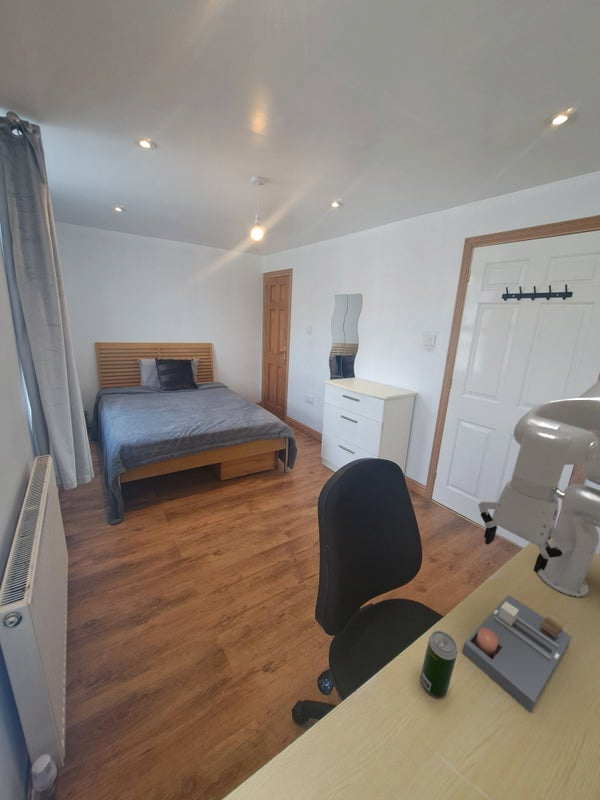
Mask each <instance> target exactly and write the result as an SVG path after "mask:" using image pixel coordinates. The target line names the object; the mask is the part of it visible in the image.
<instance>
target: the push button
mask: <svg viewBox="0 0 600 800" xmlns="http://www.w3.org/2000/svg"><path fill="white" fill-rule="evenodd" d="M498 641H499V640H498V637H497V635H496V634H495V633H494V632H493V631H491V630H490V629H488V628H480V629H479V632H478V635H477V639H476V641H475V646H477V647H478V648H479V649H480V650H481V651H483V652H484V653H485V654H486V655H487V656H489V657H493V656H494V655H496V654H495V651H496V648H497V645H498Z"/></svg>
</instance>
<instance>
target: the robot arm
mask: <svg viewBox="0 0 600 800" xmlns="http://www.w3.org/2000/svg"><path fill="white" fill-rule="evenodd" d="M591 430H592V432H591ZM594 430H595V433H594V432H593V431H594ZM513 438H514V440H515V442H517V443H518V445H520V447H519V451H518V452H517V453H518V455H517V458H516V461H515V465H514V469H513V473H512V476H511V479H510V480H509V481H508V482H506V484H505V486H504V488H503V489H502V491H501V494H500V495H499V498H498V500H497V502H494V501H480V502H479V503H478V508H479V511H480V517H481V519H482V520H483V522H484V526H485V527H486V528H485V532H484V535H483V537H484V538H485V541H484V544H485V545H487V546H488V545H490V544H491V543H492V542H493V541H494V540H495V538H496V533H497V530H498V527H500V528H502V529H504V530H506V531H508V532H509V533H511V534H513V535H515V536H517V537H519V538H521V539H523V540H525V541H527V542H529V543H531V544H533V545H535V546H537V550H538V551H539V552H540V553H539V554H538V556H537V558H536V560H535V564H534V567H533V571H534V573H536V574H537V575H538V576H539V578H540V577H541V578H540V579H541V580H542V582H544V583H545V582H546V583H545V584H546V585H548V586H549V587H551V588H553V590H556V591H558V592H560V593H562V594H565V595H567V596H570V595H571V597H574V596H576V597H577V598H582V597H581V596H583V597H586V596H587V595H588V593H589V589H590V588H589V585H588V583H587V582H586V581H585V580H586V577H587V574H588V571H589V570H590V566H591V563H592V561H593V559H594V555H595V553H596V551H597V548H598V546H599V542H600V535H599V532H598V529H597V527H598V528H600V489H598V488H594V487H593V486H592V487H591V486H589V485H584V484H581V483H572V484H570V485H568V486H567V487H565V489H564V490H563V491H562V490H561V489H560V488H559V486H560V485H559V484H560V480H561V477H562V474H563V470H564V468H565V465H566V466H569V465H571V466H575V465H577V466H579V465H582V467H581V470H580V471H581V472H580V473H581V475H582V477H583V478H584V479H585V480H587V481H589V482H591V483H592V484H596V485H599V486H600V379H599V380H598V381H597V382H595V383H594V384H593V385H592V386H591V387H589V389H587V390H586V391H585V392H583V393H582V394H581V395H580V396H577V397H569V398H563V399H557V400H556V399H555V400H551V401H545V402H542V403H540V404H538V405H535V406H534V407H533V408H531V409H530V410H529V411H528V412H526V413H525V414H524V415H523V416H522V417H521V418H519V420H518V421H517V423H516V424H515V427H514V430H513ZM559 499H561V505H560V512H559ZM489 510H493V514H492V516H491V514H490V512H489ZM558 512H559V513H560V514H559V517H558ZM557 519H558V521H557ZM556 522H557V524H556ZM555 527H556V528H555ZM550 540H551V543H550V542H549V541H550ZM586 594H587V595H586ZM585 595H586V596H585ZM576 597H575V598H576Z"/></svg>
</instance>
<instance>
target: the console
mask: <svg viewBox="0 0 600 800" xmlns="http://www.w3.org/2000/svg"><path fill="white" fill-rule="evenodd" d="M505 602H508V603H509V604H511V605H512V606H514V607H515V608H517V609H518V610H519V612H518V615H517V618H516V621H515V622H514V623H513V624H512V626H510V625H508V624H507V623H506V622H504V621H503V620H501V619H500V618H499V617H498V615H499V611H500V608H501V606H502V605H503V604H504V603H505ZM545 619H546V617H544V616H542V615H540V614H539V613H538V612H537V611H535V610H533V609H532V608H530V607H529V606H527V605H525V604H524V603H522V602H521V601H519V600H518V599H516V598H515V597H513V596H512V595H510V594H508V595H506V597H505V598H504V599H503V600H502V601H501V602H500V603H499V604H498V606H496V608H494V610H493V611H492V612H491V613H490V614H489V616H488V617H486V619H485V620H484V621H483V622H482V624H480V625H479V627H477V629H475V631H474V632H473V633H472V634H471V635H470V636H469V637H468V639H466V641H464V644H463V647H462V651H461V653H462V655H464V656H466V657H467V658H468V659H469V660H470V661H471V662H473V664H475V665H476V666H477V667H478V668H479V669H480V670H482V672H484V673H485V674H486V675H487V676H488V677H489V678H490V679H492V681H494V683H496V684H497V685H499V687H501V688H502V689H503V690H504V691H506V693H508V695H510V696H511V697H512V698H513V699H514V700H515V701H516V702H518V703H519V704H520V705H521V706H522V707H524V708H525V709H526V711H528V712H529V713H531V712H532V710H533V709H534V707H535V705H536V703H537V701H538V700H539V698H540V696H541V694H542V693H543V691H544V689H545V687H547V684H548V682H549V681H550V680H551V676H552V675H553V673H554V672H555V670H556V668H557V667H558V664H559V662H560V661H561V660H562V657H563V656H564V654H565V652H566V651H567V648H568V646H569V645H570V642H571V640H572V637H573V636H572V635H570V634H569V633H568V632H566V631H564V630H563V629H562V630H561V632H560V633H559V635H558V636H557V637H555V636H554V635H552V634H551V633H549V632H548V631H546V630H545V629H543V628H542V627H541V624H542V622H543V621H544V620H545ZM480 628H488V629H490V630H491V631H493V632H494V633H495V634H496V635H497V637H498V640H499V641H498V645H497V648H496V651H495V654H494V655H495V656H494V657H493V659H492V658H491V656H487V655H486V654H485V653H484V652H483V651H481V650H480V649H479V648H478V647H477V646H476V644H475V643H476V639H477V635H478V632H479V629H480Z"/></svg>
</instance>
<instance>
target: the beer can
mask: <svg viewBox="0 0 600 800" xmlns="http://www.w3.org/2000/svg"><path fill="white" fill-rule="evenodd" d="M428 637H429V638H428V642H427V645H426V651H425V655H424V658H423V659H424V660H423V664H422V668H421V672H420V682H421V684H422V687H423V689H424V690H425V691H426V693H427V694H428V695H430V696H432V697H433V698H437V699H439V698H443V697H445V696H446V695H447V693H448V690H449V688H450V682H451V680H452V674H453V673H454V671H453V670H454V667H455V663H456V660H457V657H458V645H457V642H456V641H455V639H454V638H453V636H452V635H450V634H449V633H447V632H446V631H443V630H435V631H433V632H432V633H431V634H430V635H429V636H428Z"/></svg>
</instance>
